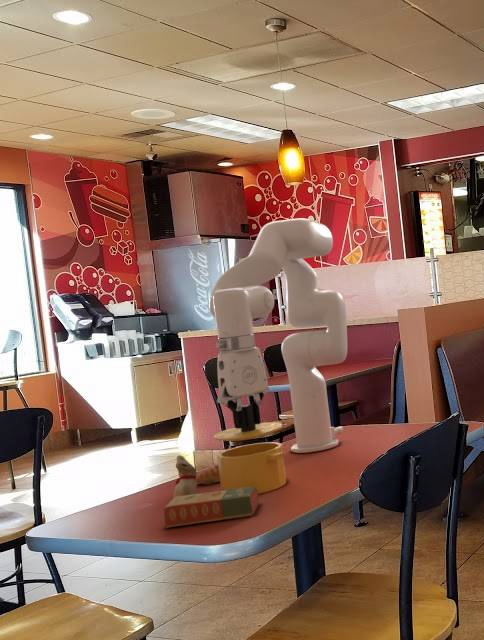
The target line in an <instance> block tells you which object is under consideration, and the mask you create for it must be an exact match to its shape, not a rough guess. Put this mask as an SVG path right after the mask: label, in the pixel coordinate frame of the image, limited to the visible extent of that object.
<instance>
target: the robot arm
mask: <svg viewBox="0 0 484 640" xmlns="http://www.w3.org/2000/svg"><path fill="white" fill-rule="evenodd" d="M333 246H334V237H333V235H332V232H331V230H330V229H329V228H328V226H327V225H325V224H323V223H321V222H318V221H315V220H312V219H309V218H304V217H302V218H301V217H299V218H298V217H297V218H291V219H283V220H275V221H271V222H268V223H266V224H264V225H263V226H262V227H261V229H260V231H259V233H258V234H257V237H256V239H255V240H254V243H253V245H252V247H251V250H250V252H249V254H248V256H246V257H244V258H243V259H241V260H240V261H238V262H236V263H235V264H234V265H233V266H231V267H229V269H227V270H226V271H224V273H223V274H222V275H220V277H219V278H218V280H217V281H216V283H215V285H214V287H213V289H212V291H211V294H210V297H209V304H208V307H209V311H210V313H211V314H210V315H212V317H213V318H214V319H215V324H216V331H217V340H218V342H216V343H214V344H215V345H214V347H215V348H216V350H217V349H219V353H217V365H216V366H217V368H216V369H217V383H218V391H219V393H218V396H217V398H216V402H217V403H218V404H220V405H223V406H225V407H226V408H228V409H229V411H230V412H232V419H233V424H234V425H233V426H234V427H235V428H236V429H244V428H246V427H247V426H246V419H245V412H244V410H242V405H243V401H242V397H245V396H246V399H247V402H248V404H253V410H254V417H255V424H260V423H262V422H261V413H260V406H261V405H262V400H263V398H264V396H265V395H266V394H267V393H268V392H269V390H270V388H269V385H268V378H267V372H266V367H265V363H264V359H263V356H262V353H261V350H260V348H259V347H256V341H255V333H254V327H253V319H260V318H265V317H266V316H268V315H270V314H271V313H272V311H273V309H274V307H275V297H274V294H273V292H272V291H271V290H270V289H269V288H268V287H266V286H264V285H262V284H266V283H268V282H270V281H271V280H274V279H275V278H277V277H278V276H279V275H280V273H281V271H282V272H283V275H284V278H285V287H286V289H285V290H286V292H285V293H286V294H285V295H286V317H287V321H288V323H289V325H290V326H291V327H293V328H297V329H305V328H314V327H315V328H317V327H323V326H324V327H325V326H326V329H322V330H309V331H301V332H294V333H290V334H289V335H287V336H286V337H285V338H284V339H283V341H282V343H281V355H282V358H283V361H284V365H285V368H286V373H287V377H288V383H289V390H290V398H291V407H292V415H293V425H294V431H295V440H296V441H295V442H296V443H295V444H293V445H292V446H291V447H290V448H291V452H292V453H295V454H308V453H315V452H316V453H317V452H321V451H325V450H330V449H333V448H335V447H337V446H339V444H340V441H339V439H338V438H336V437H337V435H341V434H343V433H344V432H345V429H344V427H343V426H338V427H334V426H332V425H331V416H330V407H329V401H328V391H327V390H328V389H327V383H326V380H325V377H324V376H323V374H322V373H321V372H320V371H319V369H317V367H320V366H321V367H322V366H331V365H338V364H339V365H340V364H341V363H343V362H345V360H346V359H347V356H348V347H349V346H348V323H347V322H348V321H347V306H346V303H345V299H344V297H343V295H342V294H341V292H339V291H337V290H334V289H328V290H327V289H325V290H319V285H318V284H319V283H318V275H317V273H316V271H315V269H314V268H313V267H312V266H311V265H310V264H309V263H308V262H307V261H306V260H305V259H310V258H317V257H324V256H327V255H328V254H330V253H331V251H332V250H333Z"/></svg>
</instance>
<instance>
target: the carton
mask: <svg viewBox="0 0 484 640" xmlns="http://www.w3.org/2000/svg"><path fill="white" fill-rule="evenodd" d="M259 503H260V502H259V494H258V492H257V487H256V486H251V487H244V488H237V489H230V490H222V491H221V490H217V491H216V490H215V491H208V492H200V493H197V494H193V495H186V496H179V497H175V498H173V497H172V499H171V500H170V501H169V502H168V503H167V504H166V505H165V507H163V515H164V524H165V528H173V527H174V528H175V527H180V526H181V527H182V526H186V525H194V524H201V523H210V522H211V523H212V522H219V521H227V520H234V519H241V518H250V517H252V516H254V514H255V511H256V510H257V508H258V506H259Z"/></svg>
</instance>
